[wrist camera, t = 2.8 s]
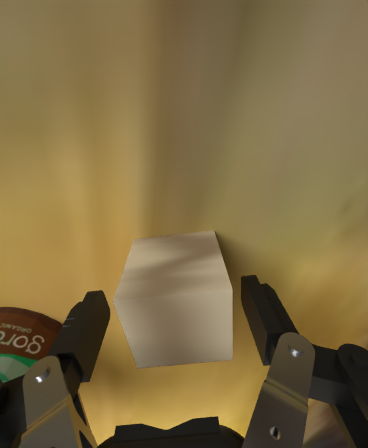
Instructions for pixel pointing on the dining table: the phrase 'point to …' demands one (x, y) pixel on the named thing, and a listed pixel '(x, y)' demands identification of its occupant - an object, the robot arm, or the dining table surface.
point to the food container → (24, 340)
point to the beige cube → (176, 301)
